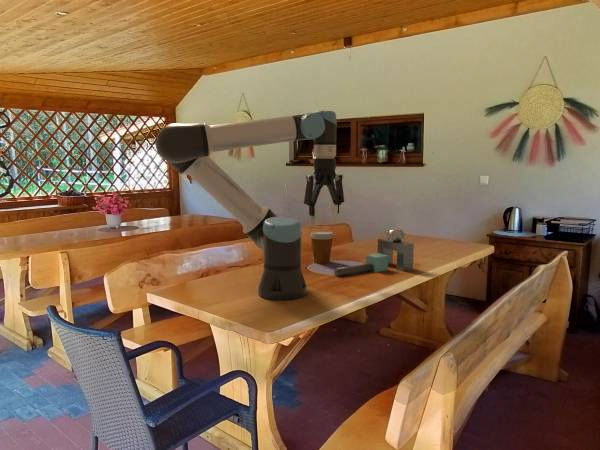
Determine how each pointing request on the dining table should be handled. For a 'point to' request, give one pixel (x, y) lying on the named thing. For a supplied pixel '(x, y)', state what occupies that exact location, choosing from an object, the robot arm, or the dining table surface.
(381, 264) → the mallet
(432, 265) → the dining table surface
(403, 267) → the housing
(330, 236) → the disposable coffee cup
